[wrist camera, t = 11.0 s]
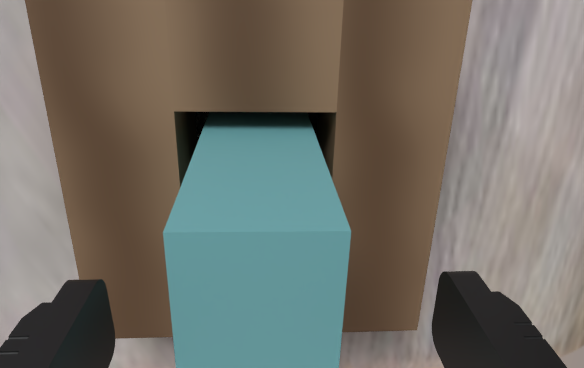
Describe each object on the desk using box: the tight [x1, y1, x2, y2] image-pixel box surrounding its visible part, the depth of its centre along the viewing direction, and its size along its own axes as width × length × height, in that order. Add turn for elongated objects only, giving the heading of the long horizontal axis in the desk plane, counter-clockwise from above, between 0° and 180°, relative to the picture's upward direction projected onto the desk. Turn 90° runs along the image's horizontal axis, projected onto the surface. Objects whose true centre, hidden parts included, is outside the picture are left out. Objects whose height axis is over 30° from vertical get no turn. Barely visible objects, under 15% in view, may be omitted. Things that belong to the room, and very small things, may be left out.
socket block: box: [25, 0, 472, 338], centre depth 19 cm, size 14×14×5 cm
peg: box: [163, 112, 351, 368], centre depth 16 cm, size 4×4×12 cm
